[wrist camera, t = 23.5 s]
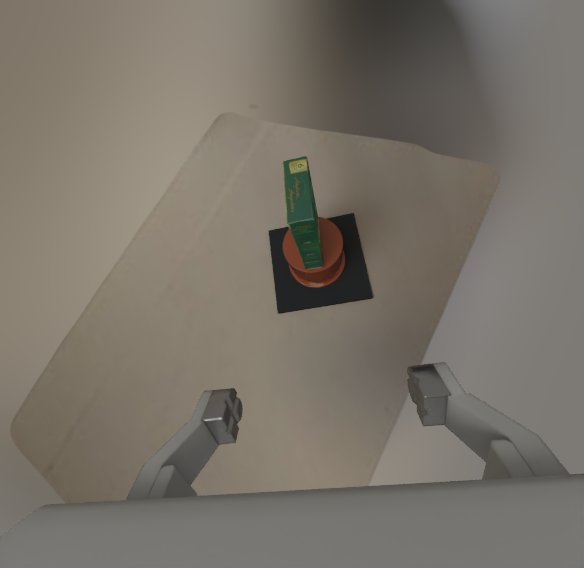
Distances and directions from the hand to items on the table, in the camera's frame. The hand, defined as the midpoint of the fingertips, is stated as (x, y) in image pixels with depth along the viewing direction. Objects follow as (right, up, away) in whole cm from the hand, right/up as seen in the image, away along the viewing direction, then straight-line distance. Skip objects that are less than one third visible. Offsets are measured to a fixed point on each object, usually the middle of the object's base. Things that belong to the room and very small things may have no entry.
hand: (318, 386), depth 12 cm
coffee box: (+2, +11, +26) cm, 28 cm away
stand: (+3, +9, +33) cm, 34 cm away
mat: (+3, +9, +33) cm, 35 cm away
